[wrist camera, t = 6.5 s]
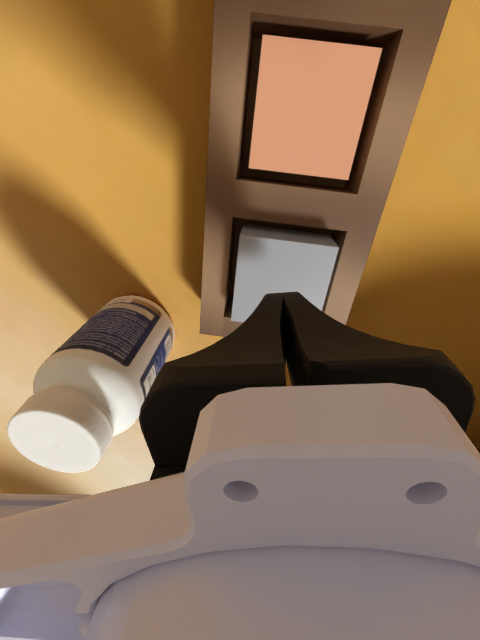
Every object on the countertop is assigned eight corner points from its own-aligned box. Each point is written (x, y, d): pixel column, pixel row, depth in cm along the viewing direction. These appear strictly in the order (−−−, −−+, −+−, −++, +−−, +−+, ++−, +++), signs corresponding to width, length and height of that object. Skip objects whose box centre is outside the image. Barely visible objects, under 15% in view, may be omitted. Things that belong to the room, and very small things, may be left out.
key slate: (243, 223, 15) (240, 234, 13) (329, 234, 15) (339, 247, 13) (235, 300, 17) (231, 320, 15) (310, 310, 17) (316, 331, 15)
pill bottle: (85, 313, 21) (-39, 422, 12) (144, 279, 19) (48, 379, 11) (134, 368, 23) (56, 494, 14) (191, 342, 21) (141, 466, 13)
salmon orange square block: (263, 53, 13) (262, 34, 11) (363, 65, 13) (382, 48, 11) (250, 166, 15) (248, 168, 13) (336, 176, 15) (348, 180, 13)
